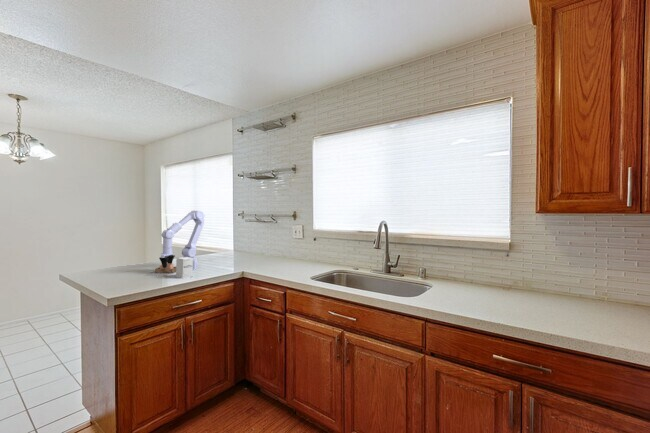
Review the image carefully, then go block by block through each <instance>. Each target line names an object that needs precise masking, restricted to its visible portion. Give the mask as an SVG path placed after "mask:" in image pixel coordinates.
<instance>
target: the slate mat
mask: <svg viewBox="0 0 650 433" xmlns="http://www.w3.org/2000/svg"><path fill="white" fill-rule="evenodd" d="M168 275H169V274H167V273H155V270H153V271H152V272H150V273H147V274H145V275H143V276H151V277H165V276H168Z"/></svg>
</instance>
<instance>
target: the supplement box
mask: <svg viewBox="0 0 650 433" xmlns="http://www.w3.org/2000/svg"><path fill="white" fill-rule="evenodd" d="M175 260H176V262H175V264H176V265H175V267H176V272H175V278H180V279H187V278H192V277H193V271H194V270H193V258H189V257H183V256H182V257H177V258H176V259H175Z"/></svg>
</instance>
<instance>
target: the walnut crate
mask: <svg viewBox="0 0 650 433" xmlns="http://www.w3.org/2000/svg"><path fill="white" fill-rule="evenodd" d="M154 271H155V273H167V274H168V275H171V274H174V273H175V274H176V266H174V268H173V269H160V266H159V267H157V268H155V270H154Z"/></svg>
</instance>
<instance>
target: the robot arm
mask: <svg viewBox="0 0 650 433" xmlns="http://www.w3.org/2000/svg"><path fill="white" fill-rule="evenodd" d="M205 216H206V215H205V213H204V211H202V210H195V209H193V210H191V211H189V212H188V213H187V214H186V215H185V216H183V217H182V219H181V220H180V221H179V222H173V223H172V225H171V226H168V227H167V229H164V230H163V231H162V233H161V235H160V236H161V237H162V253H160V256H159V260H160V262H161V263H160V264H162V267H163V268H166V267H167V264H173V261H174V259H175V257H176V255H174V252H173V238H174V236H175V235H176V234H177V233H178V232H179V231H180V230H181V229H183V228H182V227H183V226H184V225H185V224H187V223H188V222H190V221H191V220H193V221H194V223H195V225H194V227H193V230H192V232H191V235H190V238H189V240H188V243H187V244H185V245H184V248H183V249H182V250H181V255H182V258H183V257H189V258H193V271H195V270H198V269H199V267H198V264H199V263H198V262H199V261H198V258H197V257H195V256H196V255H197V243H198V241H199V238H200V236H201V233H202V231H203V227H204V225H205Z"/></svg>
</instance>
